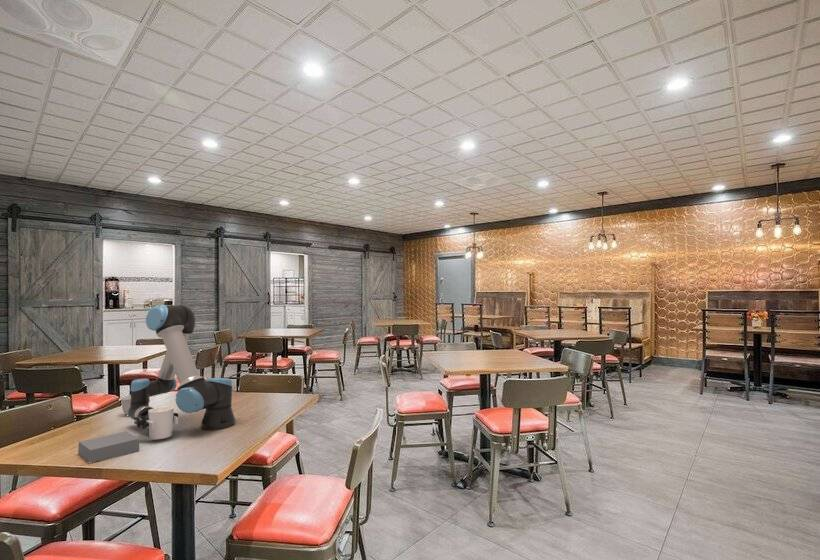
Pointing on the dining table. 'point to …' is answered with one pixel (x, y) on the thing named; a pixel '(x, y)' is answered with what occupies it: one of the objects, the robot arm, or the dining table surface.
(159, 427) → the candle holder
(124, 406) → the teacup
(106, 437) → the riser block
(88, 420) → the dining table surface
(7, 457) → the dining table surface
